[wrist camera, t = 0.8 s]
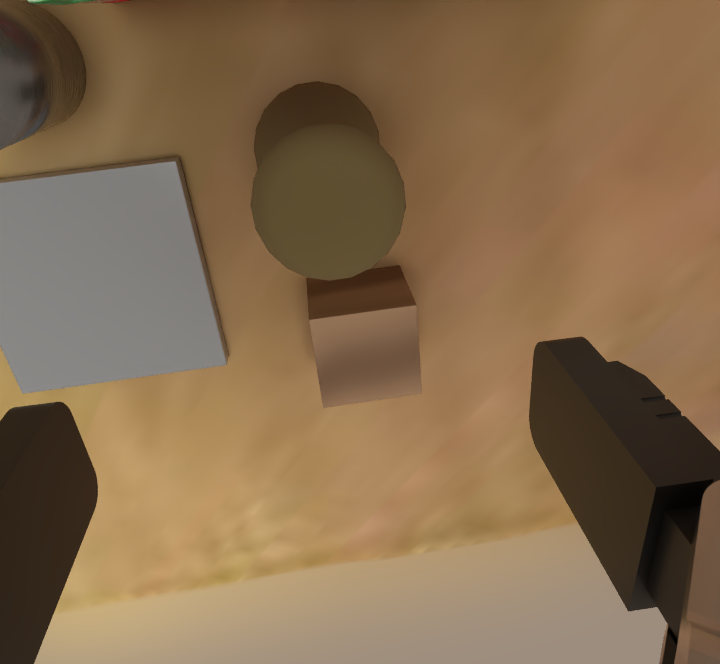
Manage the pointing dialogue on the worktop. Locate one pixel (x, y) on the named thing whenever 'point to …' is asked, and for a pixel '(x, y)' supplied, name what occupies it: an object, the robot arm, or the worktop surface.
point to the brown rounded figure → (324, 183)
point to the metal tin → (36, 71)
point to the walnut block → (364, 337)
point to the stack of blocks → (71, 1)
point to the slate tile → (103, 277)
